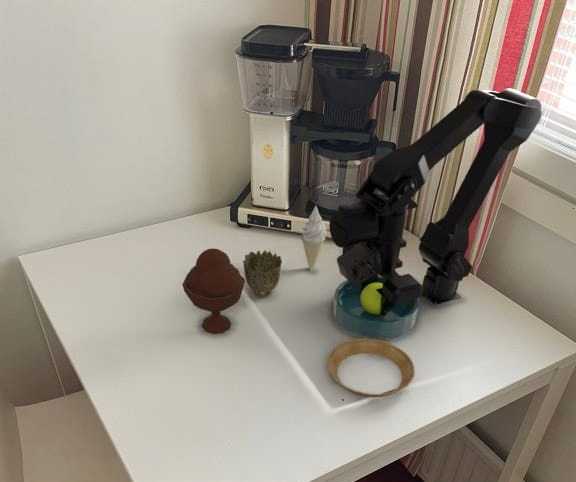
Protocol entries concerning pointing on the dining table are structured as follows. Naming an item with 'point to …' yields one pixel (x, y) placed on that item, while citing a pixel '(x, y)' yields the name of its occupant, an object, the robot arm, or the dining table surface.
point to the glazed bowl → (368, 324)
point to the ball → (371, 298)
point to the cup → (262, 272)
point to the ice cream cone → (313, 237)
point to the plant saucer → (378, 349)
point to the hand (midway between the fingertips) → (374, 307)
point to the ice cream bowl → (214, 288)
